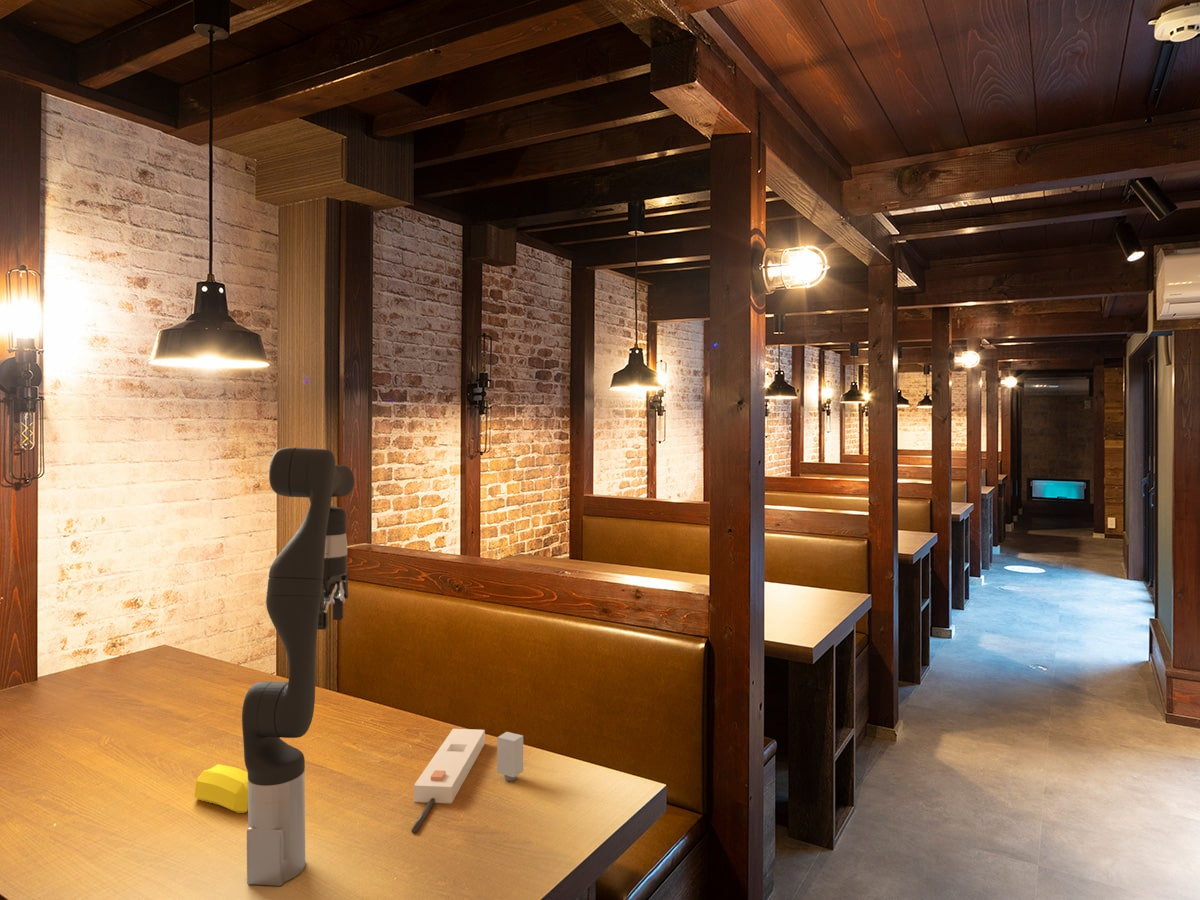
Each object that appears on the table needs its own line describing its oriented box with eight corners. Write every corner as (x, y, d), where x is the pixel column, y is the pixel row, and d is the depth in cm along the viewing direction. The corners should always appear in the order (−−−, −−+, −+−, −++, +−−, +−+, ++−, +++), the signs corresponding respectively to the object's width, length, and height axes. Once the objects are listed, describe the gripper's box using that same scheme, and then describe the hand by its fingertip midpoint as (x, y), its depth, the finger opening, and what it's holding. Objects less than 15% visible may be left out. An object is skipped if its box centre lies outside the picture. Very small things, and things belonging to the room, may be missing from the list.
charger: (523, 778, 170) (523, 735, 169) (514, 784, 167) (514, 741, 166) (506, 773, 172) (506, 731, 172) (497, 779, 169) (497, 737, 168)
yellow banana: (218, 785, 166) (185, 801, 159) (217, 755, 166) (184, 769, 159) (276, 804, 158) (243, 821, 151) (275, 772, 158) (243, 788, 151)
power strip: (434, 834, 146) (434, 812, 146) (393, 832, 147) (393, 810, 147) (484, 743, 188) (484, 726, 188) (452, 742, 189) (452, 725, 188)
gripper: (332, 559, 166) (332, 633, 166) (358, 548, 180) (358, 617, 180) (299, 558, 166) (299, 632, 167) (327, 548, 180) (328, 616, 181)
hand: (330, 624), depth 174 cm, fingers open, 8 cm apart
